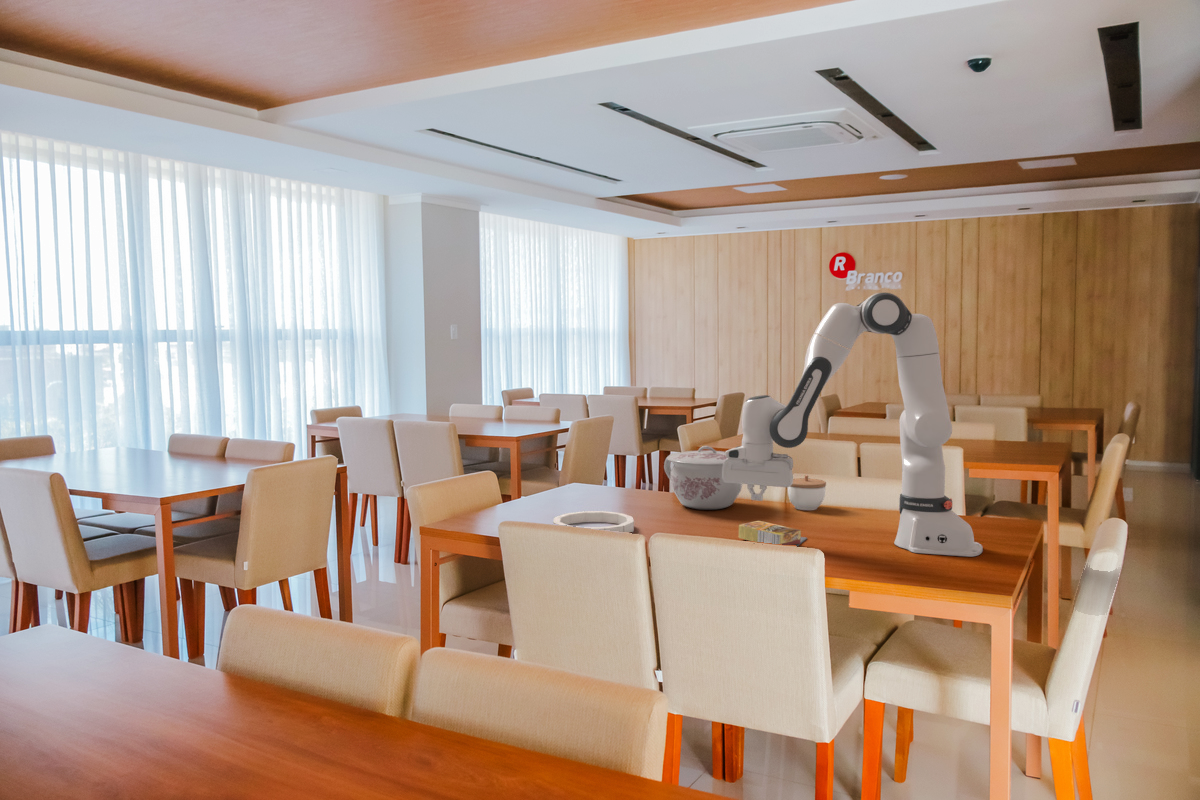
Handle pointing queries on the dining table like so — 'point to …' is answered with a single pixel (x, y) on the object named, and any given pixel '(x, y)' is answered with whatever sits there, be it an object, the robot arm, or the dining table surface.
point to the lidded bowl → (807, 493)
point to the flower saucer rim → (598, 520)
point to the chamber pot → (701, 479)
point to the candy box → (769, 533)
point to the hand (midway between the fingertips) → (756, 500)
